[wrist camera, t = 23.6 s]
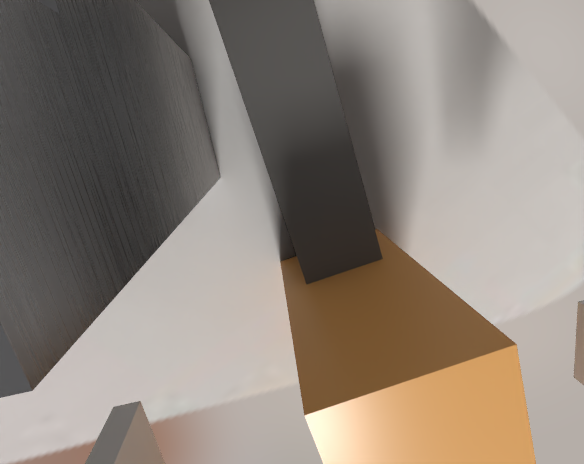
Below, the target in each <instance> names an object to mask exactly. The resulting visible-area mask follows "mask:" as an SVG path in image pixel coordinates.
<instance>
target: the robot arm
mask: <svg viewBox="0 0 584 464" xmlns="http://www.w3.org/2000/svg"><path fill="white" fill-rule="evenodd" d="M574 378H576V379H577V380H578V381H579V382H580V383H582V384H583V385H584V301H579V302H578V312H577V329H576V347H575V364H574ZM85 464H165V462H164V459H163V457H162V454H161V452H160V449H159V447H158V444H157V442H156V439H155V437H154V434H153V432H152V429H151V427H150V424H149V422H148V419H147V417H146V414H145V412H144V409H143V407H142V404H141V401H138V402H134V403H129V404H125V405H121V406H116V407H113V409H112V411H111V413H110V415H109V417H108V419H107V421H106V423H105V425H104V427H103V429H102V431H101V433H100V435H99V437H98V439H97V441H96V443H95V445H94V447H93V449H92V452H91V453H90V455H89V457H88V459H87V461H86V463H85Z"/></svg>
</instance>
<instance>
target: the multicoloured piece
mask: <svg viewBox="0 0 584 464" xmlns="http://www.w3.org/2000/svg"><path fill="white" fill-rule="evenodd" d="M209 1H210V4H211V7H212V10H213V13H214V16H215V19H216V22H217V25H218V28H219V31H220V34H221V36H222V39H223V42H224V45H225V48H226V51H227V54H228V57H229V60H230V63H231V66H232V69H233V71H234V74H235V77H236V80H237V83H238V86H239V89H240V92H241V95H242V98H243V101H244V104H245V106H246V109H247V112H248V115H249V118H250V121H251V124H252V127H253V130H254V133H255V136H256V139H257V141H258V144H259V147H260V150H261V153H262V156H263V159H264V162H265V165H266V168H267V171H268V174H269V176H270V179H271V182H272V185H273V188H274V191H275V194H276V197H277V200H278V203H279V206H280V209H281V211H282V214H283V217H284V220H285V223H286V226H287V229H288V232H289V235H290V238H291V241H292V244H293V246H294V249H295V252H296V255H297V256H295V257H292V258H289V259H286V260H283V261H280V262H281V269H282V275H283V281H284V288H285V294H286V300H287V307H288V313H289V320H290V326H291V332H292V339H293V345H294V351H295V358H296V364H297V371H298V377H299V383H300V389H301V396H302V402H303V409H304V415H305V418H306V421H307V423H308V425H309V428H310V430H311V433H312V436H313V438H314V441H315V444H316V446H317V449H318V451H319V454H320V456H321V459H322V461H323V464H536V461H535V455H534V448H533V442H532V436H531V430H530V424H529V418H528V412H527V406H526V399H525V394H524V387H523V381H522V375H521V369H520V363H519V357H518V350H517V344H515V343H514V342H513V341H512V340H511V339H509V338H508V337H507V336H506V335H505V334H503V333H502V332H501V331H500V330H499V329H497V328H496V327H495V326H494V325H492V324H491V323H490V322H489V321H488V320H486V319H485V318H484V317H483V316H482V315H480V314H479V313H478V312H477V311H476V310H474V309H473V308H472V307H471V306H469V305H468V304H467V303H466V302H465V301H463V300H462V299H461V298H460V297H459V296H457V295H456V294H455V293H454V292H453V291H451V290H450V289H449V288H448V287H446V286H445V285H444V284H443V283H442V282H440V281H439V280H438V279H437V278H436V277H434V276H433V275H432V274H431V273H430V272H428V271H427V270H426V269H425V268H423V267H422V266H421V265H420V264H419V263H417V262H416V261H415V260H414V259H413V258H411V257H410V256H409V255H408V254H407V253H405V252H404V251H403V250H402V249H400V248H399V247H398V246H397V245H396V244H394V243H393V242H392V241H391V240H390V239H388V238H387V237H386V236H385V235H384V234H382V233H381V232H380V231H379V230H377V229H375V228H374V224H373V220H372V217H371V213H370V209H369V205H368V202H367V198H366V194H365V191H364V187H363V183H362V179H361V176H360V172H359V168H358V164H357V161H356V157H355V153H354V150H353V146H352V142H351V138H350V135H349V131H348V127H347V123H346V120H345V116H344V112H343V108H342V105H341V101H340V97H339V94H338V90H337V86H336V82H335V79H334V75H333V71H332V67H331V64H330V60H329V56H328V53H327V49H326V45H325V41H324V38H323V34H322V30H321V26H320V23H319V19H318V15H317V12H316V8H315V4H314V0H209Z"/></svg>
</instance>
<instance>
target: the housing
mask: <svg viewBox="0 0 584 464" xmlns="http://www.w3.org/2000/svg"><path fill="white" fill-rule="evenodd" d="M219 179H220V174H219V170H218V166H217V162H216V158H215V154H214V150H213V146H212V142H211V138H210V134H209V130H208V126H207V121H206V117H205V113H204V109H203V105H202V101H201V97H200V93H199V89H198V85H197V81H196V77H195V73H194V69H193V65H192V61H191V59H190V58H189V57H188V56H187V54H186V53H185V52H184V51H183V50H182V49H181V48H180V47H179V46H178V45H177V44H176V43H175V42H174V41H173V40H172V39H171V38H170V36H169V35H168V34H167V33H166V32H165V31H164V30H163V29H162V28H161V27H160V26H159V25H158V24H157V23H156V22H155V21H154V20H153V18H152V17H151V16H150V15H149V14H148V13H147V12H146V11H145V10H144V9H143V8H142V7H141V6H140V5H139V4H138V3H137V2H136V0H0V398H1V397H5V396H10V395H15V394H19V393H24V392H28V391H33V389H34V388H35V387H36V386H37V385H38V384H39V383H40V382H41V380H42V379H43V378H44V377H45V376H46V375H47V374H48V372H49V371H50V370H51V369H52V368H53V367H54V366H55V365H56V363H57V362H58V361H59V360H60V359H61V358H62V357H63V355H64V354H65V353H66V352H67V351H68V350H69V349H70V348H71V346H72V345H73V344H74V343H75V342H76V341H77V340H78V338H79V337H80V336H81V335H82V334H83V333H84V332H85V331H86V329H87V328H88V327H89V326H90V325H91V324H92V323H93V321H94V320H95V319H96V318H97V317H98V316H99V315H100V314H101V312H102V311H103V310H104V309H105V308H106V307H107V306H108V305H109V303H110V302H111V301H112V300H113V299H114V298H115V297H116V295H117V294H118V293H119V292H120V291H121V290H122V289H123V288H124V286H125V285H126V284H127V283H128V282H129V281H130V280H131V278H132V277H133V276H134V275H135V274H136V273H137V272H138V271H139V269H140V268H141V267H142V266H143V265H144V264H145V263H146V261H147V260H148V259H149V258H150V257H151V256H152V255H153V254H154V252H155V251H156V250H157V249H158V248H159V247H160V246H161V244H162V243H163V242H164V241H165V240H166V239H167V238H168V237H169V235H170V234H171V233H172V232H173V231H174V230H175V229H176V227H177V226H178V225H179V224H180V223H181V222H182V221H183V220H184V218H185V217H186V216H187V215H188V214H189V213H190V212H191V211H192V209H193V208H194V207H195V206H196V205H197V204H198V203H199V201H200V200H201V199H202V198H203V197H204V196H205V195H206V194H207V192H208V191H209V190H210V189H211V188H212V187H213V186H214V184H215V183H216V182H217V181H218V180H219Z"/></svg>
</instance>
